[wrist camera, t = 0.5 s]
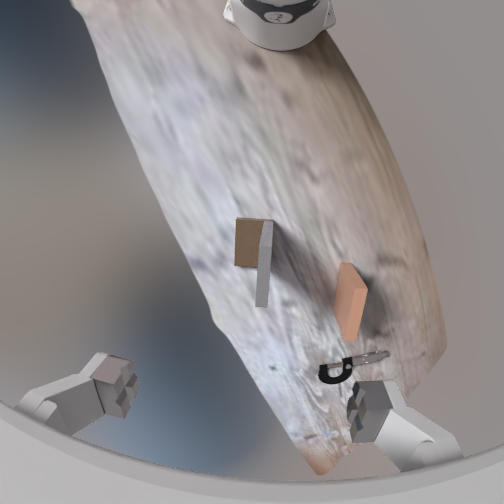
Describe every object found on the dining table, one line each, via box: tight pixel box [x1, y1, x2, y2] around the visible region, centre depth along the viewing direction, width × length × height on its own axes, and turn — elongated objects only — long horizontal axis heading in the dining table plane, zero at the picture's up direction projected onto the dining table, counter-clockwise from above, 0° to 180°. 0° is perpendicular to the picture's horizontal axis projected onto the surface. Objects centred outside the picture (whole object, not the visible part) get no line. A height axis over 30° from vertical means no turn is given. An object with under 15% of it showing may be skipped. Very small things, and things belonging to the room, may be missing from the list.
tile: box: [333, 262, 368, 341], centre depth 48 cm, size 9×2×11 cm, turn 177°
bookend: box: [234, 217, 273, 308], centre depth 44 cm, size 8×6×16 cm
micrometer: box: [318, 351, 388, 384], centre depth 58 cm, size 15×7×2 cm, turn 102°
